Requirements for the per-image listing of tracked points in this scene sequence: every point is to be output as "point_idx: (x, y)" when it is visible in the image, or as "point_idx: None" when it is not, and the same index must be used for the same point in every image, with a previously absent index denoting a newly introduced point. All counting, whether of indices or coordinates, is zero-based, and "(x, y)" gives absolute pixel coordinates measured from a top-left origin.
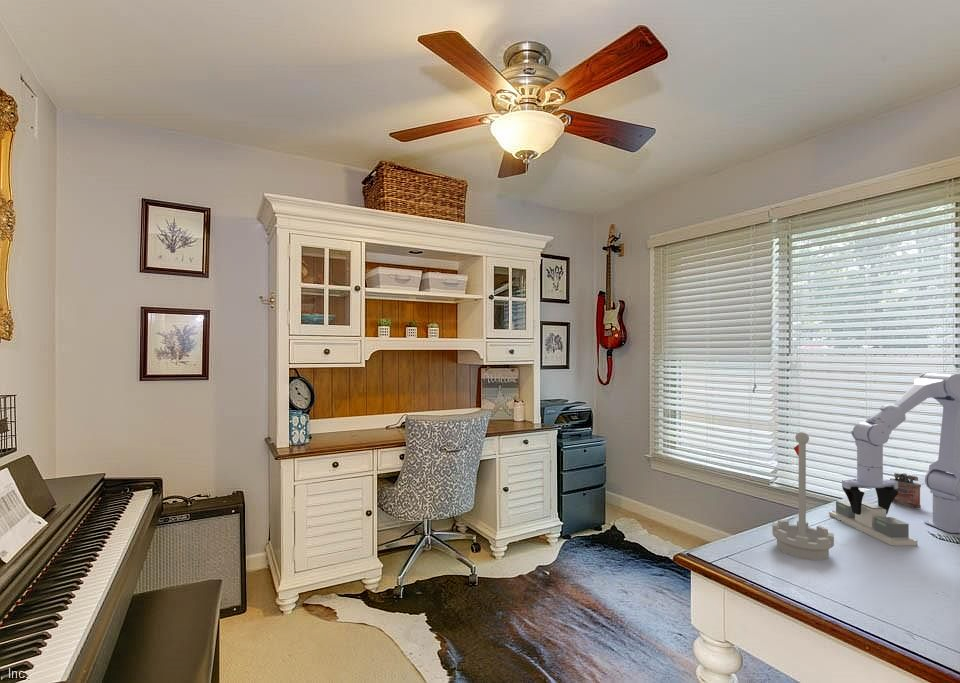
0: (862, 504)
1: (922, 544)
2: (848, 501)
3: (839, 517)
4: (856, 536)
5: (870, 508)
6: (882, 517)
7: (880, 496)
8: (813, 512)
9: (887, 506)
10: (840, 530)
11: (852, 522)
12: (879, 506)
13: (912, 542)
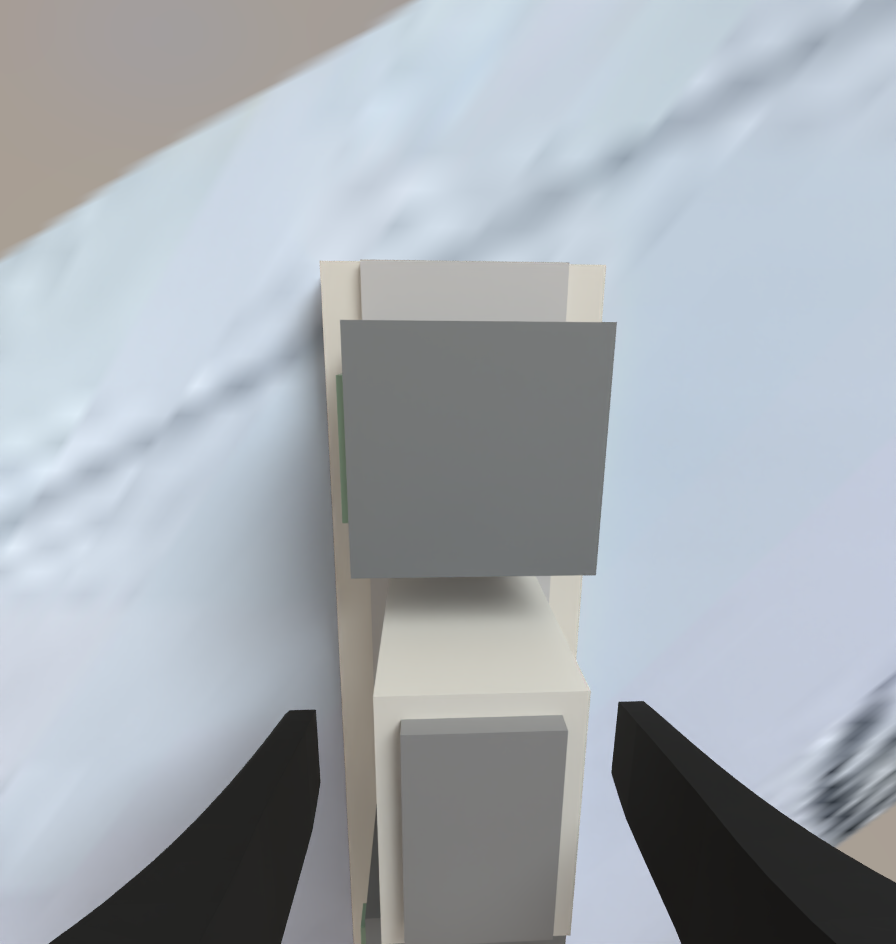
0: (401, 801)
1: (598, 882)
2: (510, 375)
3: (331, 430)
4: (223, 774)
5: (403, 905)
6: None
7: (743, 916)
8: (204, 153)
9: (666, 893)
10: (171, 664)
11: (338, 603)
12: (555, 896)
13: None
